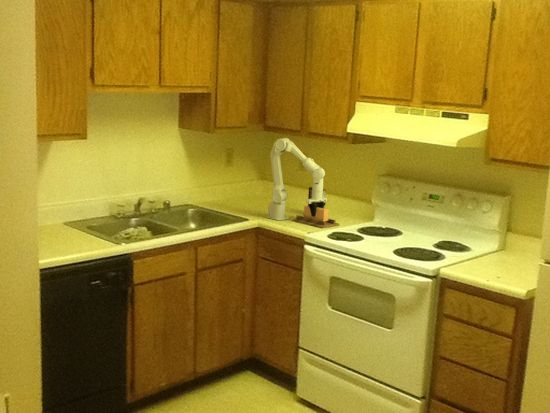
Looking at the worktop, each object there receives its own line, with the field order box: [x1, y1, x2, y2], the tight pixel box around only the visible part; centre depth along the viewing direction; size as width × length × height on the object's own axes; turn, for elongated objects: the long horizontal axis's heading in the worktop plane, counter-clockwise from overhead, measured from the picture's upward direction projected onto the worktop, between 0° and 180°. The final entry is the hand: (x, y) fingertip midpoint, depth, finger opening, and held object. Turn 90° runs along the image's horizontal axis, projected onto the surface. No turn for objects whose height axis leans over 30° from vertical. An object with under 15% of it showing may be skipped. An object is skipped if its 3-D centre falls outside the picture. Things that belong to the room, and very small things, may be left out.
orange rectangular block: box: [303, 205, 330, 221], centre depth 381 cm, size 14×4×6 cm, turn 46°
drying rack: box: [291, 214, 341, 229], centre depth 382 cm, size 22×14×3 cm, turn 46°
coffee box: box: [307, 186, 327, 209], centre depth 400 cm, size 9×6×16 cm
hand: (315, 215), depth 382 cm, fingers closed on orange rectangular block, 4 cm apart
